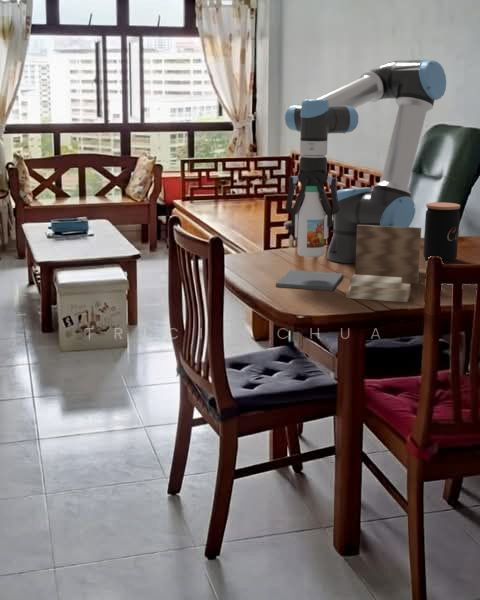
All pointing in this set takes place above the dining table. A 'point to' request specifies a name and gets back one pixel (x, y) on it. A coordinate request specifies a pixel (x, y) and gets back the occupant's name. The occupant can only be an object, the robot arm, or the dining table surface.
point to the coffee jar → (441, 230)
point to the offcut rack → (385, 263)
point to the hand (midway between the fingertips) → (311, 237)
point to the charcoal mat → (310, 280)
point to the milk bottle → (311, 225)
